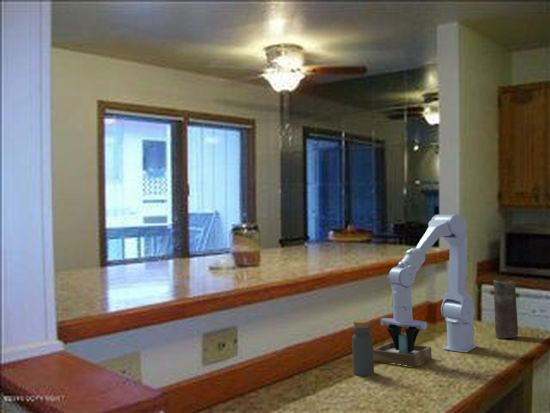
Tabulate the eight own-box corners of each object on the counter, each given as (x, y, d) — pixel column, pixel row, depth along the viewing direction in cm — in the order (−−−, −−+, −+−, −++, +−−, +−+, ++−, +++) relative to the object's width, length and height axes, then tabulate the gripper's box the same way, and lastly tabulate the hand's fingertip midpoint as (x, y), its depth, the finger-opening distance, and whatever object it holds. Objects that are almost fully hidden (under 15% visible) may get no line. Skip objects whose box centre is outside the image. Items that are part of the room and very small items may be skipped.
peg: (396, 358, 174) (395, 335, 174) (403, 355, 177) (402, 333, 177) (406, 359, 172) (406, 336, 172) (413, 357, 174) (412, 334, 174)
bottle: (361, 369, 167) (359, 318, 167) (378, 372, 163) (375, 320, 163) (349, 373, 163) (347, 321, 163) (365, 377, 158) (363, 323, 159)
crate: (390, 352, 184) (390, 341, 184) (431, 358, 175) (431, 346, 175) (372, 361, 174) (371, 349, 174) (414, 367, 166) (413, 355, 166)
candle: (498, 334, 203) (496, 278, 203) (520, 336, 198) (518, 278, 198) (493, 338, 196) (490, 280, 197) (515, 340, 192) (512, 281, 192)
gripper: (375, 306, 176) (377, 350, 175) (418, 310, 166) (421, 356, 166) (386, 303, 181) (387, 345, 181) (428, 306, 172) (431, 351, 172)
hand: (404, 350), depth 174 cm, fingers open, 4 cm apart
